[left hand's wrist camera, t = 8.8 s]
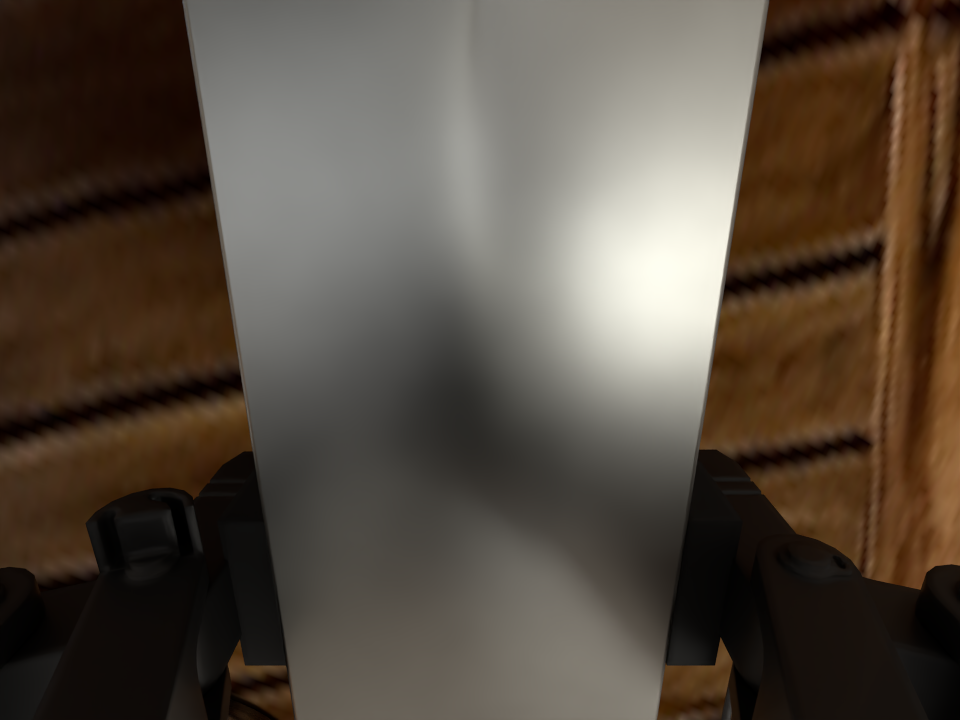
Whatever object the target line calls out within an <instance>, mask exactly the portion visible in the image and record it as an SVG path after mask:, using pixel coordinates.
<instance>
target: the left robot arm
mask: <svg viewBox="0 0 960 720" xmlns="http://www.w3.org/2000/svg"><path fill="white" fill-rule="evenodd" d="M86 527H87V530H88V533H89V537H90V540H91V544H92V547H93V550H94V554H95V557H96V561H97V564H98V568H99V571H100V574H99V576H98V578H97V580H94V581H90V582H87V583H82V584H77V585H72V586H68V587H63V588H58V589H53V590H49V591H44V592H40V590H39V587H38V585H37V582H36V579H35V576H34V575H33V574H32V573H31V572H29V571H28V570H27V569H24V568H14V567H6V568H0V720H271V719H270V718H268V717H266V716H265V715H263V714H261V713H260V712H258V711H256V710H254V709H252V708H250V707H248V706H246V705H243V704H241V703H239V702H236V701H234V700H231V699H230V695H231V680H230V673H229V669H228V662H229V660H230V658H231V656H232V654H233V652H234V650H235V647H236V645H237V643H238V641H239V639H240V642H241V647H242V652H243V657H244V662H245V665H286V660H285V654H284V648H283V641H282V635H281V628H280V622H279V616H278V609H277V603H276V596H275V590H274V584H273V577H272V571H271V564H270V558H269V552H268V545H267V539H266V532H265V526H264V520H263V513H262V507H261V500H260V494H259V488H258V481H257V475H256V468H255V462H254V456H253V452H243V453H241V454H239V455H238V456H236V457H235V458H233V459H231V460H230V461H228V462H227V463H225V464H223V465H222V467H221V468H220V469H219V470H218V471H217V473H216V474H215V475H214V476H213V477H212V479H211V480H210V483H208V484H207V485H206V486H205V487H204V488H203V490H202V491H201V492H200V493H199V497H196V498H195V499H194V500H193V497H192V496H191V495H189V494H188V493H187V492H186V491H184V490H179V489H174V488H156V489H149V490H144V491H140V492H136V493H132V494H129V495H127V496H124V497H122V498H119V499H117V500H115V501H112V502H111V503H109V504H107V505H106V506H104V507H103V508H101V509H100V510H98V511H97V512H95V513H94V515H93V516H92V517H91V518H90V519H89V520H88V521H87V522H86ZM720 637H721V639H722V641H723V643H724V645H725V647H726V649H727V651H728V653H729V655H730V657H731V659H732V661H733V664H732V669H731V673H730V678H729V683H728V688H727V693H726V697H725V702H724V707H723V712H722V719H721V720H730V717H731V712H732V719H733V720H960V566H958V565H952V564H951V565H942V566H935V567H934V568H932V569H931V570H930V571H928V572H927V573H926V576H925V579H924V582H923V585H922V588H921V590H919V589H914V588H909V587H904V586H900V585H895V584H890V583H885V582H881V581H876V580H872V579H868V578H864V577H862V575H861V573H860V571H859V570H858V569H857V568H856V566H855V565H854V564H853V562H852V561H851V560H850V559H849V558H848V557H846V556H845V555H844V554H842V553H841V552H840V551H838V550H837V549H835V548H834V547H831V546H829V545H827V544H825V543H823V542H821V541H819V540H816V539H813V538H809V537H805V536H802V535H798V534H796V533H795V532H794V530H793V529H792V528H791V527H790V526H789V524H788V523H787V522H786V521H785V520H784V518H783V517H782V516H781V515H780V514H779V512H778V511H777V510H776V509H775V508H774V506H773V505H772V504H771V503H770V502H769V500H768V499H767V498H766V497H765V496H764V495H761V491H760V490H759V488H758V487H757V486H756V485H755V484H754V482H751V481H750V477H749V476H748V475H747V474H746V473H745V471H744V470H743V469H742V468H741V467H740V465H739V464H738V463H737V462H735V461H733V460H732V459H730V458H729V457H727V456H725V455H724V454H722V453H721V452H719V451H717V450H699V452H698V459H697V465H696V471H695V478H694V484H693V491H692V497H691V503H690V510H689V516H688V523H687V529H686V535H685V542H684V548H683V555H682V561H681V567H680V574H679V580H678V587H677V593H676V599H675V606H674V612H673V619H672V625H671V631H670V638H669V644H668V651H667V657H666V664H667V665H715V662H716V657H717V652H718V647H719V642H720Z"/></svg>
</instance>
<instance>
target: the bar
mask: <svg viewBox="0 0 960 720" xmlns="http://www.w3.org/2000/svg"><path fill="white" fill-rule="evenodd" d="M182 1H183V8H184V14H185V20H186V27H187V33H188V40H189V46H190V52H191V59H192V65H193V72H194V78H195V84H196V91H197V97H198V104H199V110H200V116H201V123H202V129H203V136H204V142H205V148H206V155H207V161H208V168H209V174H210V180H211V187H212V193H213V200H214V206H215V212H216V219H217V225H218V232H219V238H220V244H221V251H222V257H223V264H224V270H225V276H226V283H227V289H228V296H229V302H230V308H231V315H232V321H233V328H234V334H235V340H236V347H237V353H238V360H239V366H240V372H241V379H242V385H243V392H244V398H245V404H246V411H247V417H248V424H249V430H250V436H251V443H252V449H253V456H254V462H255V468H256V475H257V481H258V488H259V494H260V500H261V507H262V513H263V520H264V526H265V532H266V539H267V545H268V552H269V558H270V564H271V571H272V577H273V584H274V590H275V596H276V603H277V609H278V616H279V622H280V628H281V635H282V641H283V648H284V654H285V660H286V667H287V673H288V680H289V686H290V692H291V699H292V705H293V712H294V718H295V720H657V715H658V708H659V702H660V695H661V689H662V683H663V676H664V670H665V663H666V657H667V651H668V644H669V638H670V631H671V625H672V619H673V612H674V606H675V599H676V593H677V587H678V580H679V574H680V567H681V561H682V555H683V548H684V542H685V535H686V529H687V523H688V516H689V510H690V503H691V497H692V491H693V484H694V478H695V471H696V465H697V459H698V452H699V446H700V439H701V433H702V427H703V420H704V414H705V407H706V401H707V395H708V388H709V382H710V376H711V369H712V363H713V356H714V350H715V344H716V337H717V331H718V324H719V318H720V312H721V305H722V299H723V292H724V286H725V280H726V273H727V267H728V260H729V254H730V248H731V241H732V235H733V228H734V222H735V216H736V209H737V203H738V196H739V190H740V184H741V177H742V171H743V164H744V158H745V152H746V145H747V139H748V132H749V126H750V120H751V113H752V107H753V100H754V94H755V88H756V81H757V75H758V69H759V62H760V56H761V49H762V43H763V37H764V30H765V24H766V17H767V11H768V5H769V0H182Z"/></svg>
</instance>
